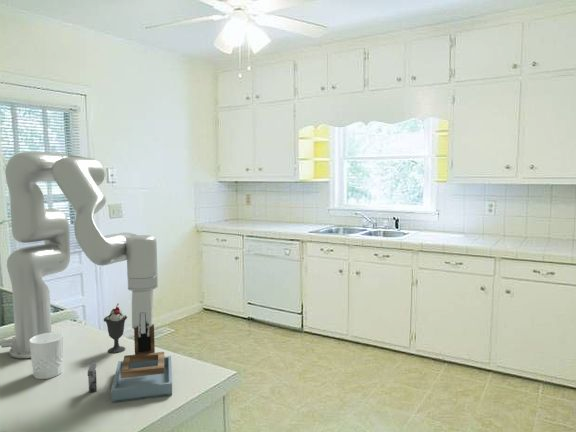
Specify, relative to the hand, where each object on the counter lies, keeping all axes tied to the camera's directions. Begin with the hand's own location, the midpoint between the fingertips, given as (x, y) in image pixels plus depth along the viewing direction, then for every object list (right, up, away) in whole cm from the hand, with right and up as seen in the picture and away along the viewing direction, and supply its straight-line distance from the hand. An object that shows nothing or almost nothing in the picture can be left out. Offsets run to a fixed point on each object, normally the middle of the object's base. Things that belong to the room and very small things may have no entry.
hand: (144, 349), depth 116 cm
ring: (+1, -3, -5) cm, 6 cm away
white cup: (-26, -7, 0) cm, 27 cm away
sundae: (-14, -5, +16) cm, 22 cm away
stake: (-10, -8, -9) cm, 15 cm away
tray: (+1, -7, -5) cm, 9 cm away
